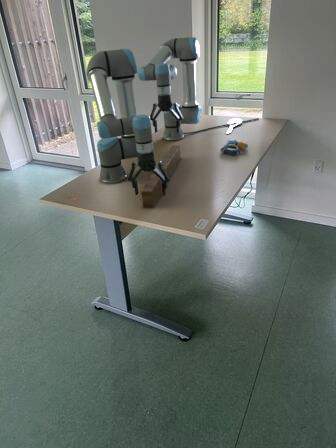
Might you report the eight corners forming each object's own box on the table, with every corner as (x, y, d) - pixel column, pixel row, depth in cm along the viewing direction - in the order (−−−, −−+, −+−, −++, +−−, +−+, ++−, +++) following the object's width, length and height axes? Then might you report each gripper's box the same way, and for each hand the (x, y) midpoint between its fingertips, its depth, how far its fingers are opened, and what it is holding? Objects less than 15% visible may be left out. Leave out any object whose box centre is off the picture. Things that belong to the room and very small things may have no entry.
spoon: (235, 136, 245) (235, 133, 244) (220, 135, 249) (220, 132, 248) (243, 120, 272) (243, 117, 270) (230, 120, 275) (230, 117, 274)
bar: (172, 158, 211) (171, 145, 207) (180, 158, 210) (179, 145, 206) (143, 207, 158) (141, 191, 154) (153, 208, 157) (151, 191, 153)
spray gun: (250, 145, 220) (228, 144, 226) (250, 139, 217) (228, 138, 224) (241, 157, 204) (218, 155, 211) (242, 150, 202) (218, 149, 208)
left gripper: (116, 154, 149) (123, 197, 159) (170, 154, 143) (174, 198, 153) (122, 148, 155) (128, 190, 166) (174, 148, 149) (177, 191, 160)
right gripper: (141, 95, 187) (145, 133, 198) (184, 94, 180) (186, 134, 191) (145, 93, 193) (149, 130, 204) (187, 92, 186) (189, 130, 197)
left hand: (150, 194), depth 159 cm, fingers open, 13 cm apart
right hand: (167, 132), depth 198 cm, fingers open, 13 cm apart
